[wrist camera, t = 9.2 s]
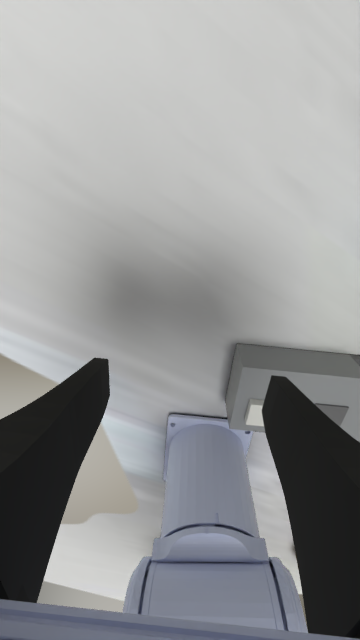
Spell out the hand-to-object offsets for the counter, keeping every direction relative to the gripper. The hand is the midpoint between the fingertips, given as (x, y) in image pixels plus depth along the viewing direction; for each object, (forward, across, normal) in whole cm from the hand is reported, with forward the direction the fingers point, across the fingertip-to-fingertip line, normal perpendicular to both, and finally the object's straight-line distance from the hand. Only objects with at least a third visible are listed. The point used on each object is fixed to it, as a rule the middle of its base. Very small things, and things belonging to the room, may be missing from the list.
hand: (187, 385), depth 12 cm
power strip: (+9, -18, +6) cm, 21 cm away
